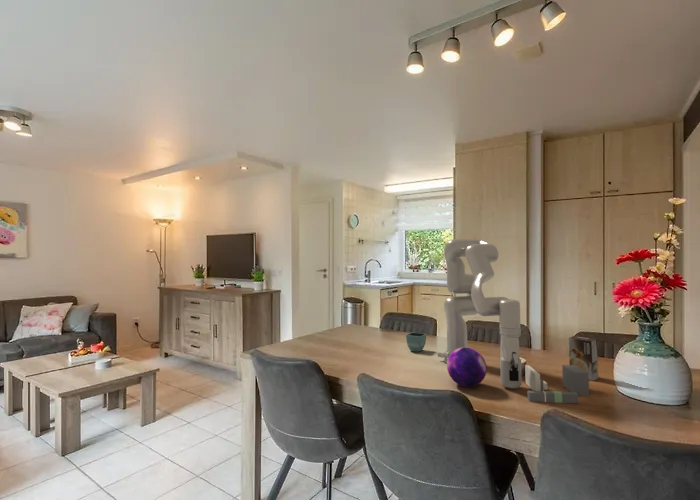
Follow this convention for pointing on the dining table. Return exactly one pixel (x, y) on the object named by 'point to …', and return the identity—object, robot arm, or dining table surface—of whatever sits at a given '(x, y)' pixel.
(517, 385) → the can
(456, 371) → the decorative orb
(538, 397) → the frame
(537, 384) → the plate
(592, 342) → the coffee box
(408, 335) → the flower pot
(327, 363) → the dining table surface
